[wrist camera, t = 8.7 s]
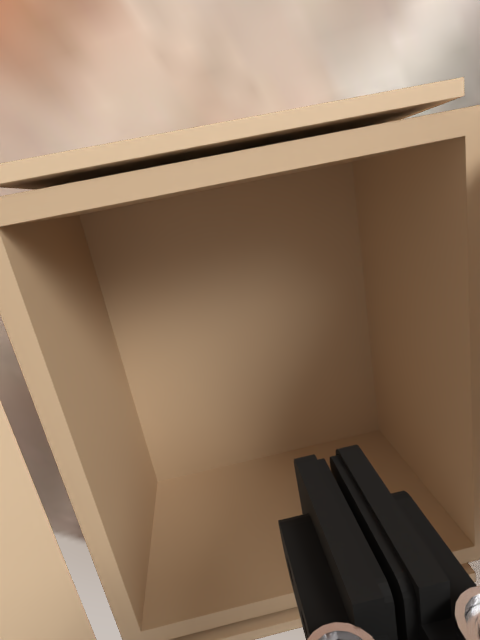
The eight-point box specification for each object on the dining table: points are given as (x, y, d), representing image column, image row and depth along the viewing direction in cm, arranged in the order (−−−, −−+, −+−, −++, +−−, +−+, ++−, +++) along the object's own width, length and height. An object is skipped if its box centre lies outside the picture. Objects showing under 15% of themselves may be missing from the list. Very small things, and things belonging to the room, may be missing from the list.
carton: (359, 128, 22) (496, 70, 12) (388, 444, 28) (497, 578, 18) (56, 186, 21) (-59, 174, 11) (152, 500, 27) (131, 673, 17)
